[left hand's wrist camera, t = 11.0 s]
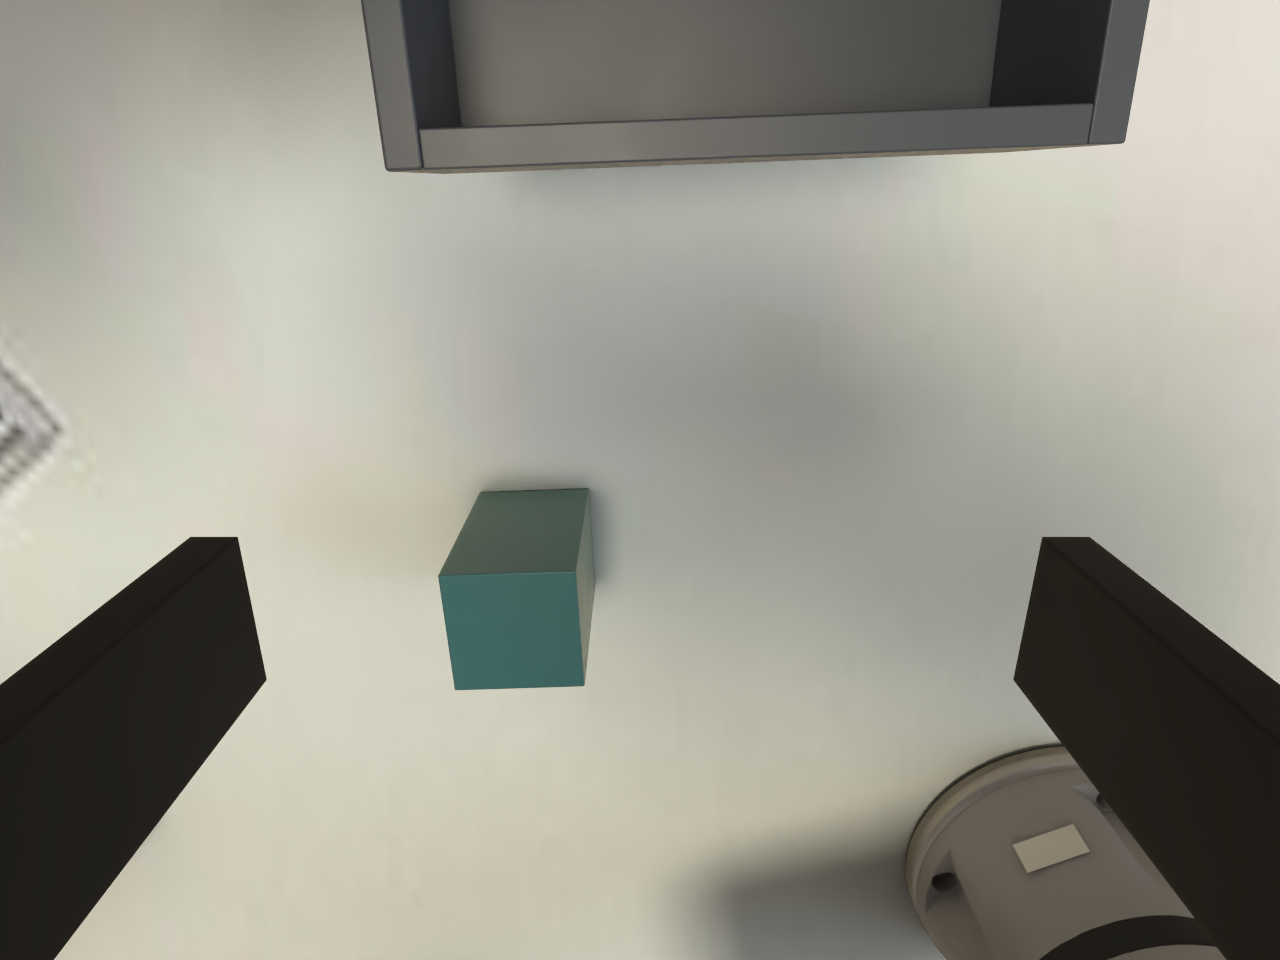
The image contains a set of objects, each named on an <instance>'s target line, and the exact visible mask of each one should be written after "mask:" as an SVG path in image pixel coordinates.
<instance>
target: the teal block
mask: <svg viewBox="0 0 1280 960" xmlns="http://www.w3.org/2000/svg"><path fill="white" fill-rule="evenodd" d="M438 577H439V584H440V591H441V598H442V604H443V611H444V618H445V625H446V632H447V638H448V645H449V652H450V659H451V665H452V672H453V679H454V686H455V690H475V689H507V688H538V687H570V686H584V685H585V676H586V666H587V657H588V647H589V638H590V628H591V618H592V609H593V599H594V590H595V575H594V560H593V544H592V529H591V513H590V498H589V489H566V490H537V491H508V492H481V493H480V494H479V496H478V498H477V500H476V502H475V504H474V506H473V508H472V510H471V512H470V514H469V516H468V518H467V520H466V522H465V524H464V526H463V528H462V530H461V532H460V534H459V536H458V538H457V540H456V542H455V544H454V546H453V548H452V550H451V552H450V554H449V556H448V558H447V560H446V562H445V564H444V566H443V568H442V570H441V572H440V574H439V576H438Z"/></svg>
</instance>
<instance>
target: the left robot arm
mask: <svg viewBox="0 0 1280 960" xmlns="http://www.w3.org/2000/svg"><path fill="white" fill-rule="evenodd" d="M266 680H267V679H266V675H265V670H264V665H263V660H262V655H261V650H260V645H259V640H258V635H257V630H256V625H255V620H254V615H253V610H252V606H251V601H250V596H249V591H248V586H247V581H246V576H245V571H244V566H243V561H242V556H241V551H240V546H239V542H238V537H190V538H189V539H187V540H186V541H185V542H184V543H182V544H181V545H180V546H178V547H177V548H176V549H175V550H173V551H172V552H171V553H169V554H168V555H167V556H166V557H164V558H163V559H162V560H160V561H159V562H158V563H157V564H155V565H154V566H153V567H151V568H150V569H149V570H148V571H146V572H145V573H144V574H142V575H141V576H140V577H139V578H137V579H136V580H135V581H133V582H132V583H131V584H129V585H128V586H127V587H126V588H124V589H123V590H122V591H120V592H119V593H118V594H117V595H115V596H114V597H113V598H111V599H110V600H109V601H108V602H106V603H105V604H104V605H102V606H101V607H100V608H99V609H97V610H96V611H95V612H93V613H92V614H91V615H90V616H88V617H87V618H86V619H84V620H83V621H82V622H81V623H79V624H78V625H77V626H75V627H74V628H73V629H72V630H70V631H69V632H68V633H66V634H65V635H64V636H63V637H61V638H60V639H59V640H57V641H56V642H55V643H53V644H52V645H51V646H50V647H48V648H47V649H46V650H44V651H43V652H42V653H41V654H39V655H38V656H37V657H35V658H34V659H33V660H32V661H30V662H29V663H28V664H26V665H25V666H24V667H23V668H21V669H20V670H19V671H17V672H16V673H15V674H14V675H12V676H11V677H10V678H8V679H7V680H6V681H5V682H3V683H2V684H1V685H0V960H54V959H55V957H56V956H57V955H58V953H59V952H60V951H61V950H62V948H63V947H64V946H65V944H66V943H67V942H68V940H69V939H70V938H71V936H72V935H73V934H74V932H75V931H76V930H77V928H78V927H79V926H80V925H81V923H82V922H83V921H84V919H85V918H86V917H87V915H88V914H89V913H90V911H91V910H92V909H93V907H94V906H95V905H96V903H97V902H98V901H99V900H100V898H101V897H102V896H103V894H104V893H105V892H106V890H107V889H108V888H109V886H110V885H111V884H112V882H113V881H114V880H115V878H116V877H117V876H118V875H119V873H120V872H121V871H122V869H123V868H124V867H125V865H126V864H127V863H128V861H129V860H130V859H131V857H132V856H133V855H134V853H135V852H136V851H137V850H138V848H139V847H140V846H141V844H142V843H143V842H144V840H145V839H146V838H147V836H148V835H149V834H150V832H151V831H152V830H153V828H154V827H155V826H156V825H157V823H158V822H159V821H160V819H161V818H162V817H163V815H164V814H165V813H166V811H167V810H168V809H169V807H170V806H171V805H172V803H173V802H174V801H175V800H176V798H177V797H178V796H179V794H180V793H181V792H182V790H183V789H184V788H185V786H186V785H187V784H188V782H189V781H190V780H191V778H192V777H193V776H194V775H195V773H196V772H197V771H198V769H199V768H200V767H201V765H202V764H203V763H204V761H205V760H206V759H207V757H208V756H209V755H210V753H211V752H212V751H213V750H214V748H215V747H216V746H217V744H218V743H219V742H220V740H221V739H222V738H223V736H224V735H225V734H226V732H227V731H228V730H229V728H230V727H231V726H232V725H233V723H234V722H235V721H236V719H237V718H238V717H239V715H240V714H241V713H242V711H243V710H244V709H245V707H246V706H247V705H248V703H249V702H250V701H251V700H252V698H253V697H254V696H255V694H256V693H257V692H258V690H259V689H260V688H261V686H262V685H263V684H264V682H265V681H266ZM1013 680H1014V681H1015V682H1016V684H1017V685H1018V686H1019V688H1020V689H1021V690H1022V692H1023V693H1024V694H1025V696H1026V697H1027V698H1028V700H1029V701H1030V702H1031V703H1032V705H1033V706H1034V707H1035V709H1036V710H1037V711H1038V713H1039V714H1040V715H1041V717H1042V718H1043V719H1044V721H1045V722H1046V723H1047V725H1048V726H1049V727H1050V728H1051V730H1052V731H1053V732H1054V734H1055V735H1056V736H1057V738H1058V739H1059V740H1060V742H1061V743H1062V744H1063V746H1064V747H1051V748H1044V749H1037V750H1032V751H1028V752H1024V753H1019V754H1016V755H1013V756H1010V757H1007V758H1004V759H1001V760H999V761H996V762H994V763H991V764H989V765H987V766H985V767H983V768H981V769H979V770H977V771H976V772H974V773H972V774H970V775H969V776H967V777H965V778H964V779H963V780H961V781H960V782H958V783H957V784H955V785H954V786H953V787H952V788H950V789H949V790H948V791H947V792H946V793H944V794H943V795H942V796H941V797H940V798H939V799H938V800H937V801H936V802H935V803H934V805H933V806H932V807H931V808H930V809H929V810H928V812H927V813H926V814H925V816H924V817H923V819H922V820H921V822H920V823H919V825H918V827H917V829H916V831H915V832H914V835H913V837H912V840H911V842H910V845H909V849H908V852H907V859H906V880H907V885H908V889H909V892H910V895H911V898H912V900H913V903H914V906H915V908H916V911H917V913H918V916H919V918H920V921H921V923H922V925H923V927H924V929H925V931H926V932H927V934H928V935H929V936H930V938H931V940H932V941H933V943H934V944H935V945H936V947H937V948H938V949H939V951H940V952H941V953H942V954H943V955H944V957H945V958H946V959H947V960H1280V685H1279V684H1278V683H1277V682H1275V681H1274V680H1273V679H1272V678H1270V677H1269V676H1268V675H1266V674H1265V673H1264V672H1263V671H1261V670H1260V669H1259V668H1257V667H1256V666H1255V665H1254V664H1252V663H1251V662H1250V661H1248V660H1247V659H1246V658H1245V657H1243V656H1242V655H1241V654H1239V653H1238V652H1237V651H1236V650H1234V649H1233V648H1232V647H1230V646H1229V645H1228V644H1227V643H1225V642H1224V641H1223V640H1221V639H1220V638H1219V637H1217V636H1216V635H1215V634H1214V633H1212V632H1211V631H1210V630H1208V629H1207V628H1206V627H1205V626H1203V625H1202V624H1201V623H1199V622H1198V621H1197V620H1196V619H1194V618H1193V617H1192V616H1190V615H1189V614H1188V613H1187V612H1185V611H1184V610H1183V609H1181V608H1180V607H1179V606H1178V605H1176V604H1175V603H1174V602H1172V601H1171V600H1170V599H1169V598H1167V597H1166V596H1165V595H1163V594H1162V593H1161V592H1160V591H1158V590H1157V589H1156V588H1154V587H1153V586H1152V585H1150V584H1149V583H1148V582H1147V581H1145V580H1144V579H1143V578H1141V577H1140V576H1139V575H1138V574H1136V573H1135V572H1134V571H1132V570H1131V569H1130V568H1129V567H1127V566H1126V565H1125V564H1123V563H1122V562H1121V561H1120V560H1118V559H1117V558H1116V557H1114V556H1113V555H1112V554H1111V553H1109V552H1108V551H1107V550H1105V549H1104V548H1103V547H1102V546H1100V545H1099V544H1098V543H1096V542H1095V541H1094V540H1093V539H1091V538H1090V537H1042V542H1041V546H1040V551H1039V556H1038V561H1037V566H1036V571H1035V576H1034V581H1033V586H1032V591H1031V596H1030V601H1029V606H1028V610H1027V615H1026V620H1025V625H1024V630H1023V635H1022V640H1021V645H1020V650H1019V655H1018V660H1017V665H1016V670H1015V674H1014V679H1013Z"/></svg>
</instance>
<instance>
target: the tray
mask: <svg viewBox="0 0 1280 960" xmlns="http://www.w3.org/2000/svg"><path fill="white" fill-rule="evenodd" d="M1149 1H1150V0H361V4H362V11H363V18H364V25H365V32H366V39H367V46H368V53H369V60H370V67H371V73H372V80H373V87H374V94H375V101H376V108H377V115H378V122H379V129H380V136H381V143H382V150H383V157H384V163H385V168H386V170H387V171H389V172H414V173H440V174H449V173H475V172H502V171H528V170H554V169H580V168H606V167H632V166H658V165H684V164H710V163H736V162H762V161H788V160H815V159H841V158H867V157H893V156H919V155H945V154H971V153H997V152H1013V151H1027V150H1040V149H1054V148H1067V147H1081V146H1094V145H1108V144H1122V143H1124V142H1125V138H1126V132H1127V126H1128V121H1129V115H1130V109H1131V104H1132V98H1133V92H1134V87H1135V81H1136V75H1137V70H1138V64H1139V58H1140V53H1141V47H1142V41H1143V36H1144V30H1145V24H1146V19H1147V13H1148V7H1149Z"/></svg>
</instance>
